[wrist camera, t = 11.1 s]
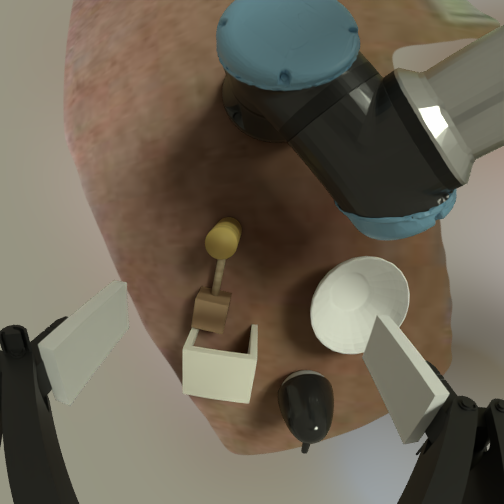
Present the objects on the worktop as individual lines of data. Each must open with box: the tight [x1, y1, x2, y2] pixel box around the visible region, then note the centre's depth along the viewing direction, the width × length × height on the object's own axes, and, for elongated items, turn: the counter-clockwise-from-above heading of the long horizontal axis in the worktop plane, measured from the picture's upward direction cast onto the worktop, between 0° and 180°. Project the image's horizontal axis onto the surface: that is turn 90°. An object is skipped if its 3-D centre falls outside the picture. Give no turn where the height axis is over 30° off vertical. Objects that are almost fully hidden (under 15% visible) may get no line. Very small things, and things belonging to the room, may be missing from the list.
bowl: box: [310, 256, 410, 354], centre depth 43 cm, size 16×16×7 cm
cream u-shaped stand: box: [183, 324, 258, 404], centre depth 44 cm, size 9×10×10 cm
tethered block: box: [191, 217, 242, 334], centre depth 41 cm, size 17×5×9 cm, turn 167°
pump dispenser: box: [278, 370, 334, 453], centre depth 44 cm, size 10×10×15 cm
